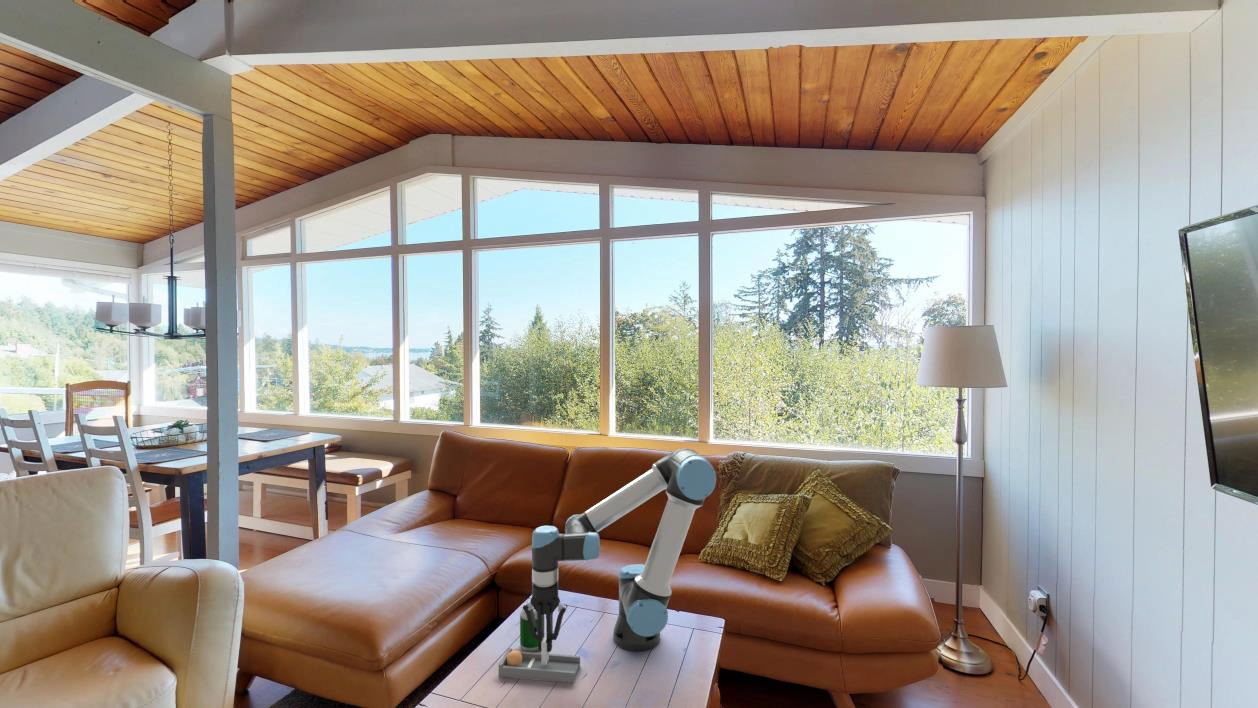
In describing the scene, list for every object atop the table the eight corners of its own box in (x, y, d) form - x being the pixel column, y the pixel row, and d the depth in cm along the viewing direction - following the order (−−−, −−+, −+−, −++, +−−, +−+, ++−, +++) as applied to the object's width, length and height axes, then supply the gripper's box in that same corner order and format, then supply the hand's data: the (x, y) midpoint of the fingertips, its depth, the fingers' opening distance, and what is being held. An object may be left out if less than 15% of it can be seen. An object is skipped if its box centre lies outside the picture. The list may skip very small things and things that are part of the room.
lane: (580, 665, 160) (580, 653, 160) (574, 683, 152) (574, 670, 152) (508, 659, 163) (508, 648, 162) (498, 676, 154) (498, 664, 154)
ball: (523, 662, 160) (524, 648, 159) (518, 672, 155) (519, 657, 155) (509, 659, 160) (510, 645, 160) (503, 669, 156) (505, 654, 156)
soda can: (539, 654, 165) (539, 616, 165) (516, 651, 167) (516, 613, 166) (547, 641, 173) (547, 604, 172) (525, 638, 174) (525, 601, 174)
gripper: (570, 577, 159) (570, 655, 160) (527, 574, 161) (527, 652, 161) (564, 588, 152) (564, 671, 152) (519, 586, 153) (519, 667, 154)
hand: (545, 661), depth 157 cm, fingers closed
